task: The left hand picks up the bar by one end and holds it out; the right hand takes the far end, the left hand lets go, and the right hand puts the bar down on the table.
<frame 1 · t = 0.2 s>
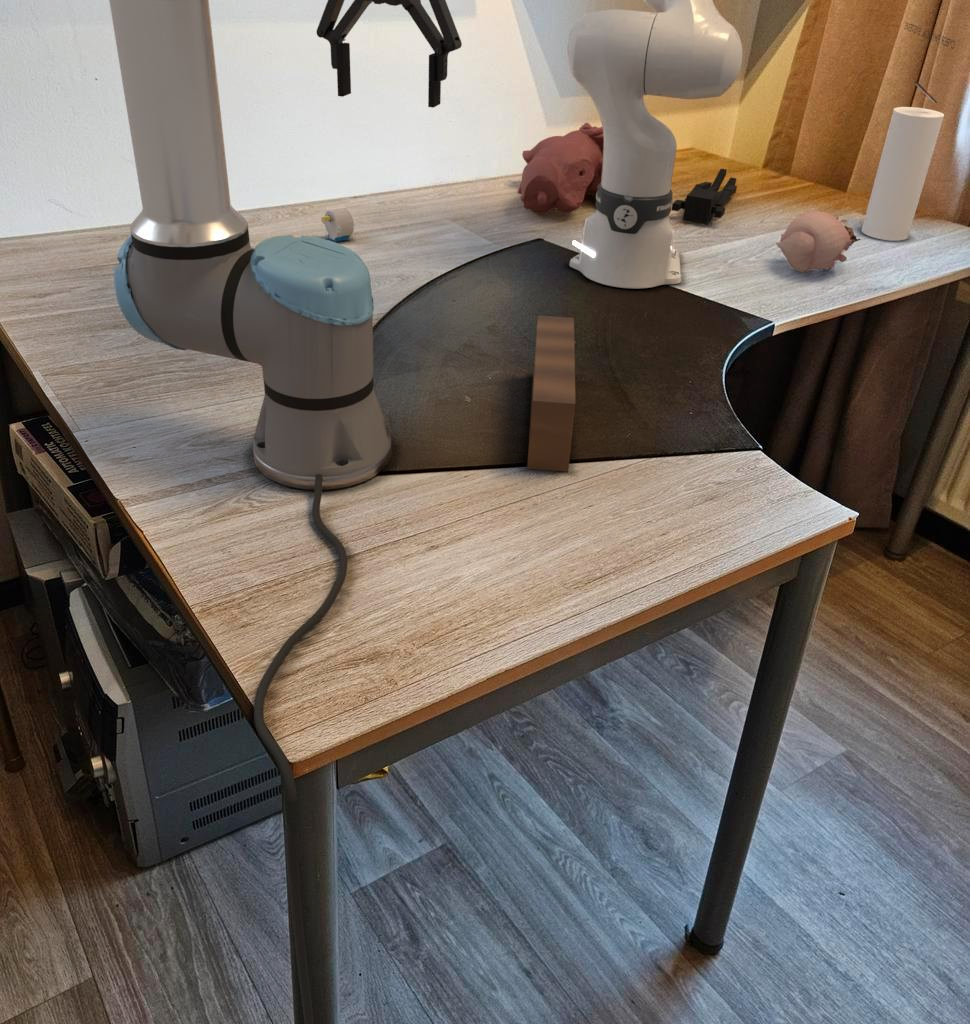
left hand: (388, 100, 134), 28 cm above the table, tool pointing down, fingers open, 13 cm apart
electric motor: (335, 240, 168), on the table
toy 2: (807, 268, 167), on the table
bar: (549, 420, 117), on the table
toy: (710, 205, 196), on the table
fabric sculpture: (573, 204, 192), on the table
tall white tube: (880, 233, 185), on the table
ceramic shard: (227, 317, 138), on the table
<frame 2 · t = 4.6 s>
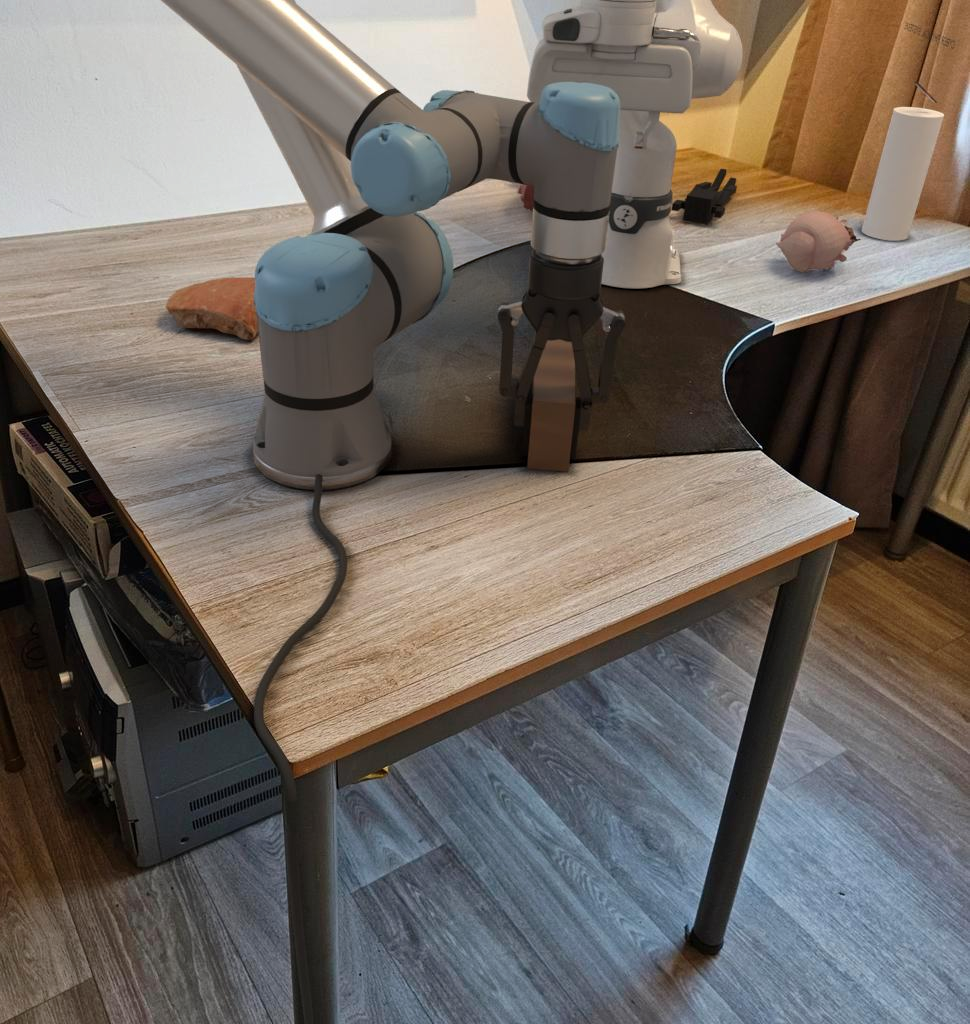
left hand: (548, 450, 110), 1 cm above the table, tool pointing down, fingers closed on bar, 5 cm apart
right hand: (602, 145, 122), 27 cm above the table, tool pointing down, fingers open, 8 cm apart
bar: (549, 420, 117), on the table, touching left hand
everything else where it was.
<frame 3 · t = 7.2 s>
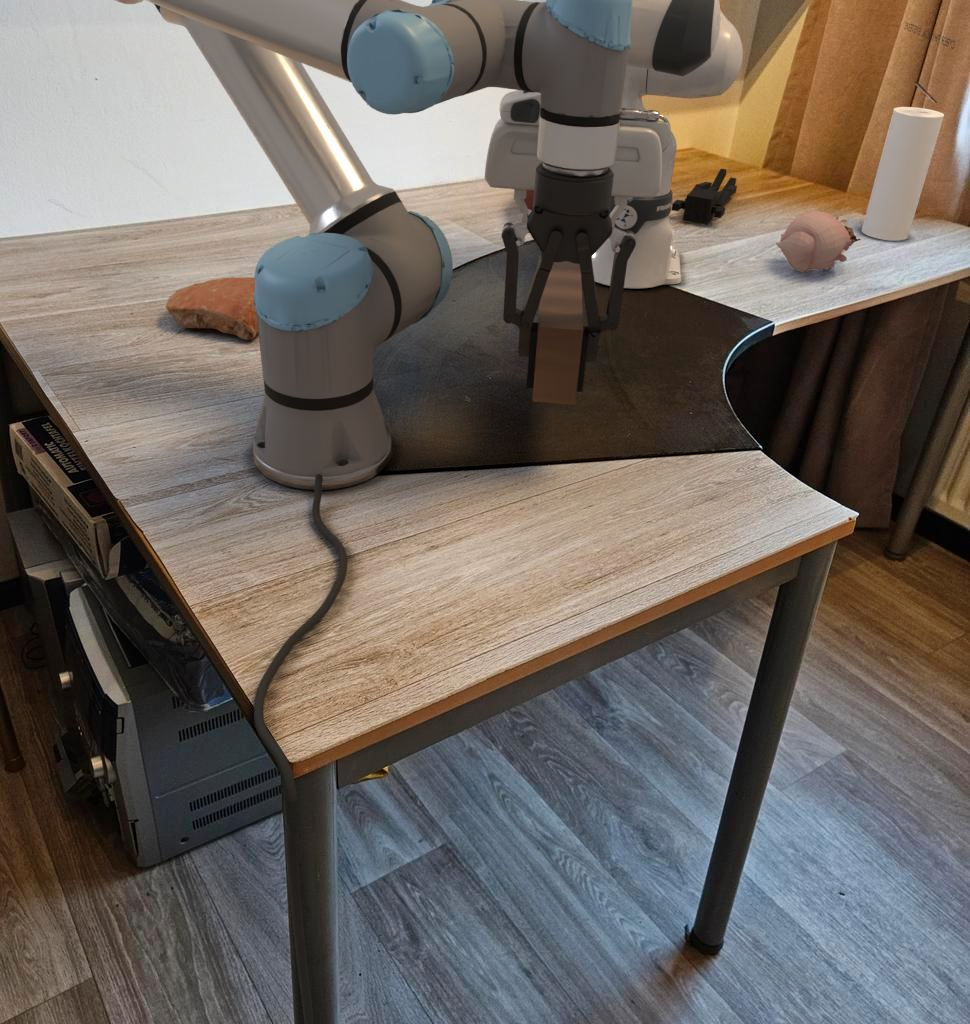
left hand: (554, 384, 105), 9 cm above the table, tool pointing down, fingers closed on bar, 5 cm apart
right hand: (567, 229, 114), 20 cm above the table, tool pointing down, fingers open, 8 cm apart
bar: (554, 356, 112), point 8 cm above the table, touching left hand
everything else where it was.
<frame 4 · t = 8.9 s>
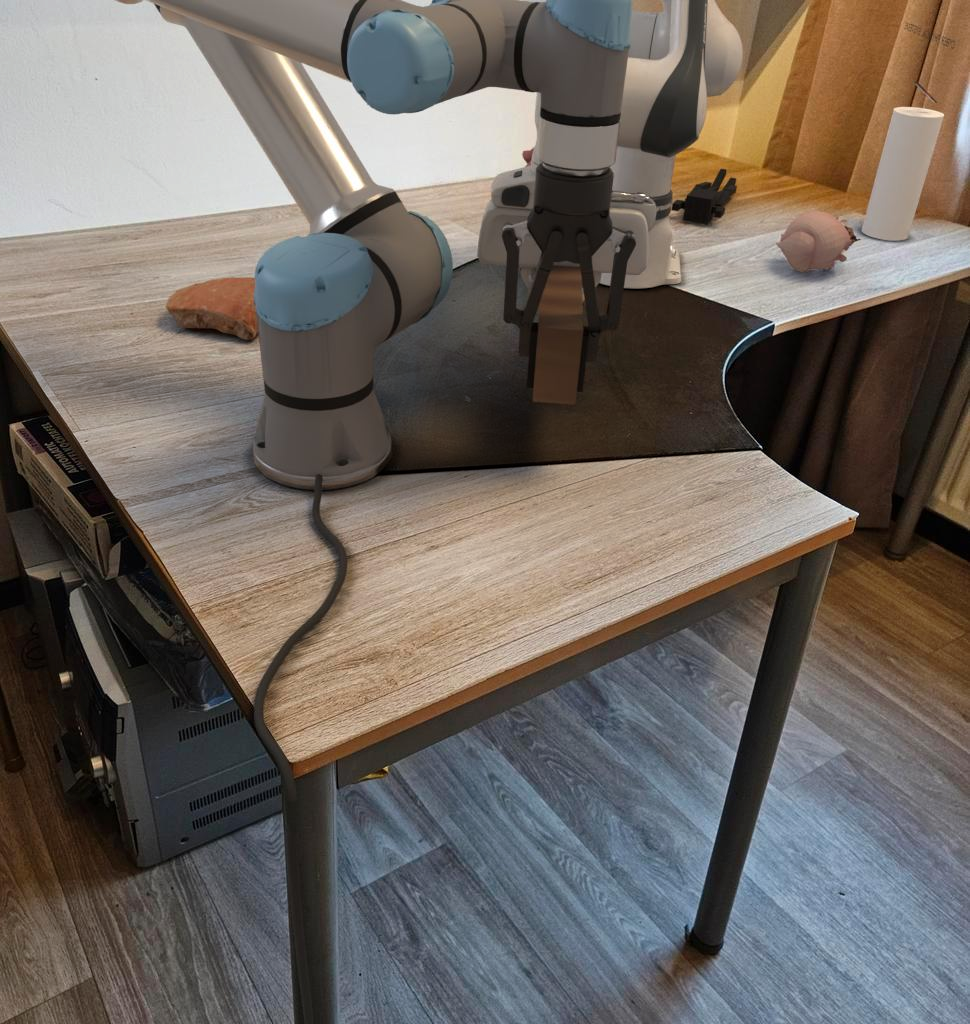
left hand: (554, 384, 105), 9 cm above the table, tool pointing down, fingers closed on bar, 5 cm apart
right hand: (557, 302, 118), 12 cm above the table, tool pointing down, fingers closed on bar, 4 cm apart
bar: (554, 356, 112), point 8 cm above the table, touching left hand, right hand
everything else where it was.
when the left hand's fingers open (9 cm above the table, at t = 9.6 s): bar stays where it is, held by the right hand.
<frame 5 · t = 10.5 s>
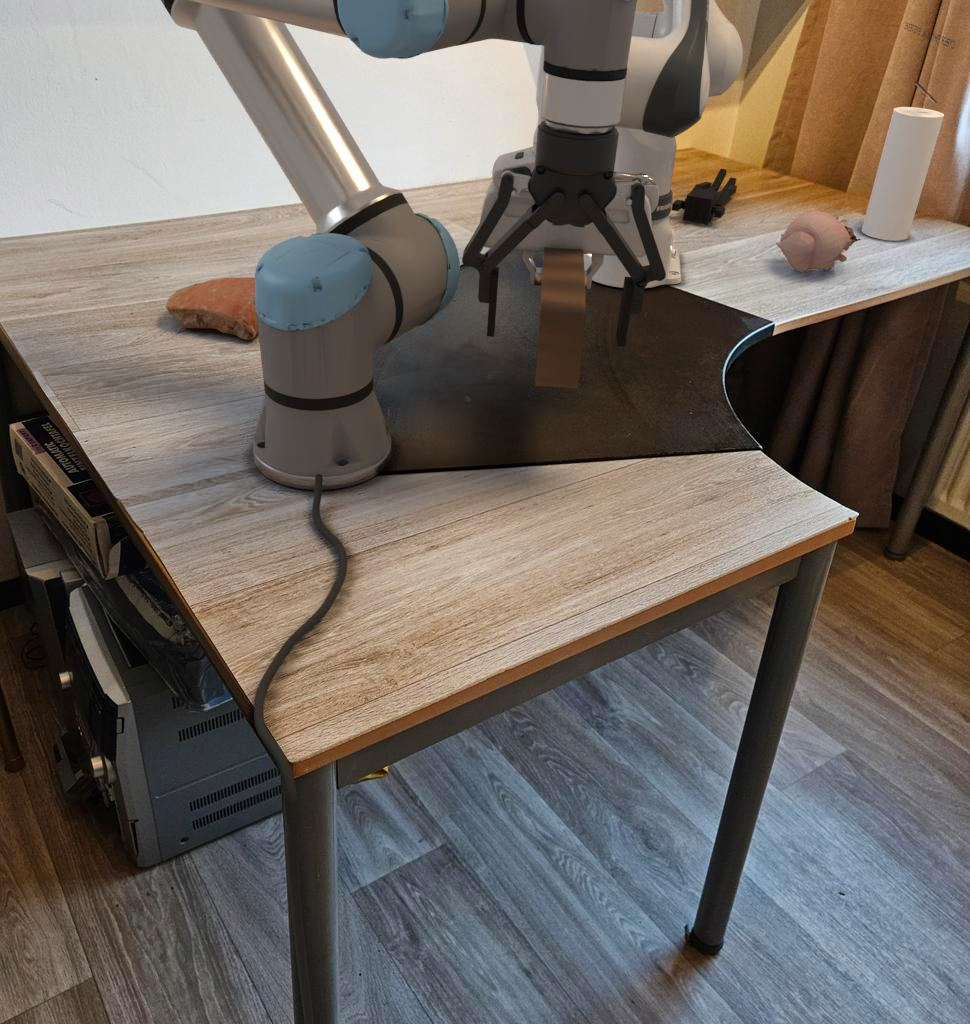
left hand: (555, 336, 101), 15 cm above the table, tool pointing down, fingers open, 13 cm apart
right hand: (559, 285, 117), 14 cm above the table, tool pointing down, fingers closed on bar, 4 cm apart
bar: (557, 340, 112), point 10 cm above the table, touching right hand
everything else where it was.
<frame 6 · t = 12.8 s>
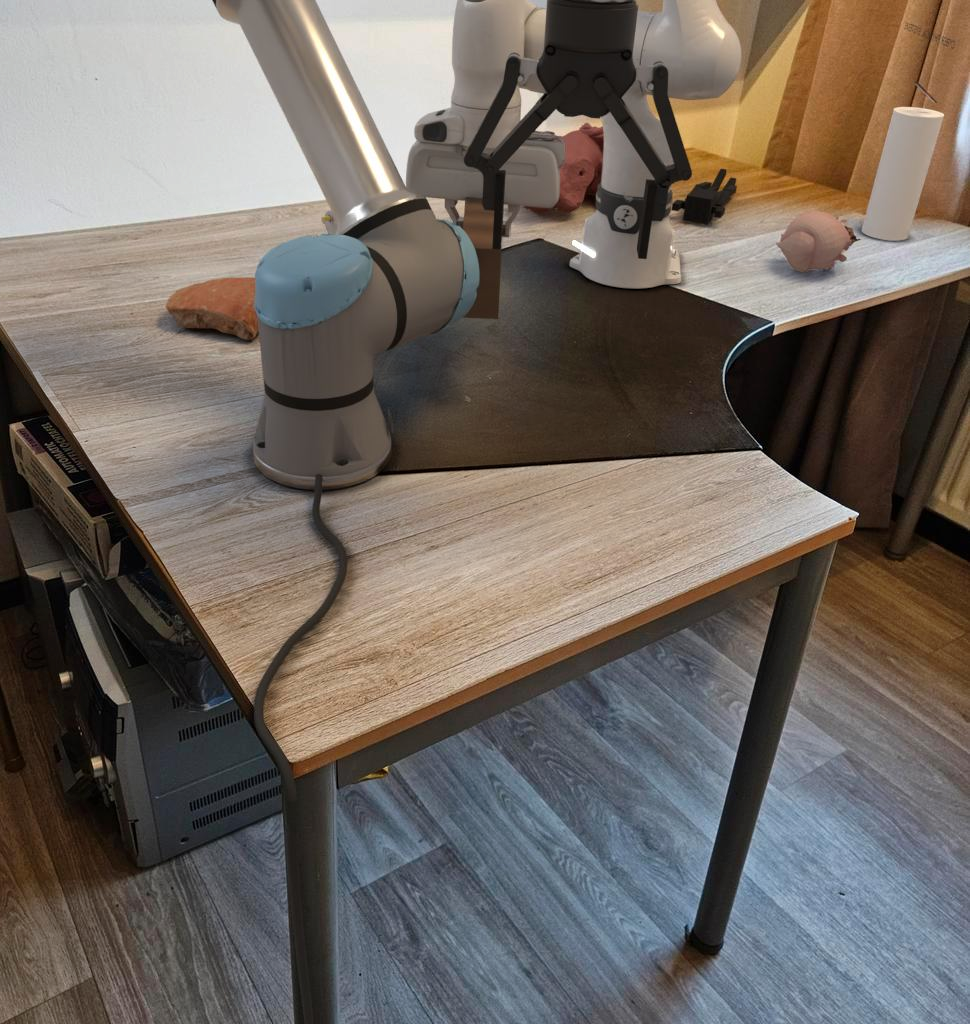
left hand: (569, 249, 91), 26 cm above the table, tool pointing down, fingers open, 13 cm apart
right hand: (481, 233, 130), 14 cm above the table, tool pointing down, fingers closed on bar, 5 cm apart
bar: (480, 281, 124), point 11 cm above the table, touching right hand
everything else where it was.
when the right hand's fingers open (4 cm above the table, at t = 17.0 s): bar stays where it is, on the table.
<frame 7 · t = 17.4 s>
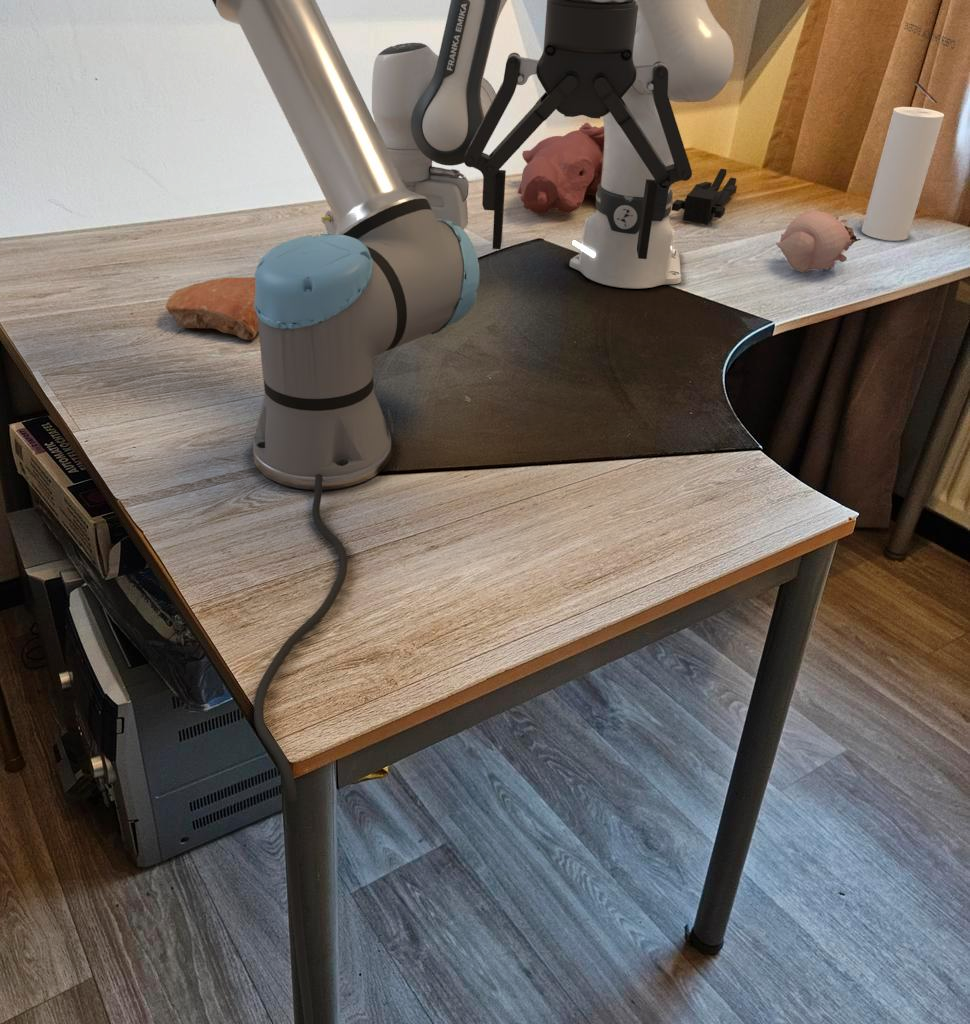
left hand: (569, 249, 91), 26 cm above the table, tool pointing down, fingers open, 13 cm apart
right hand: (403, 253, 151), 4 cm above the table, tool pointing down, fingers open, 8 cm apart
bar: (389, 300, 146), on the table
everything else where it was.
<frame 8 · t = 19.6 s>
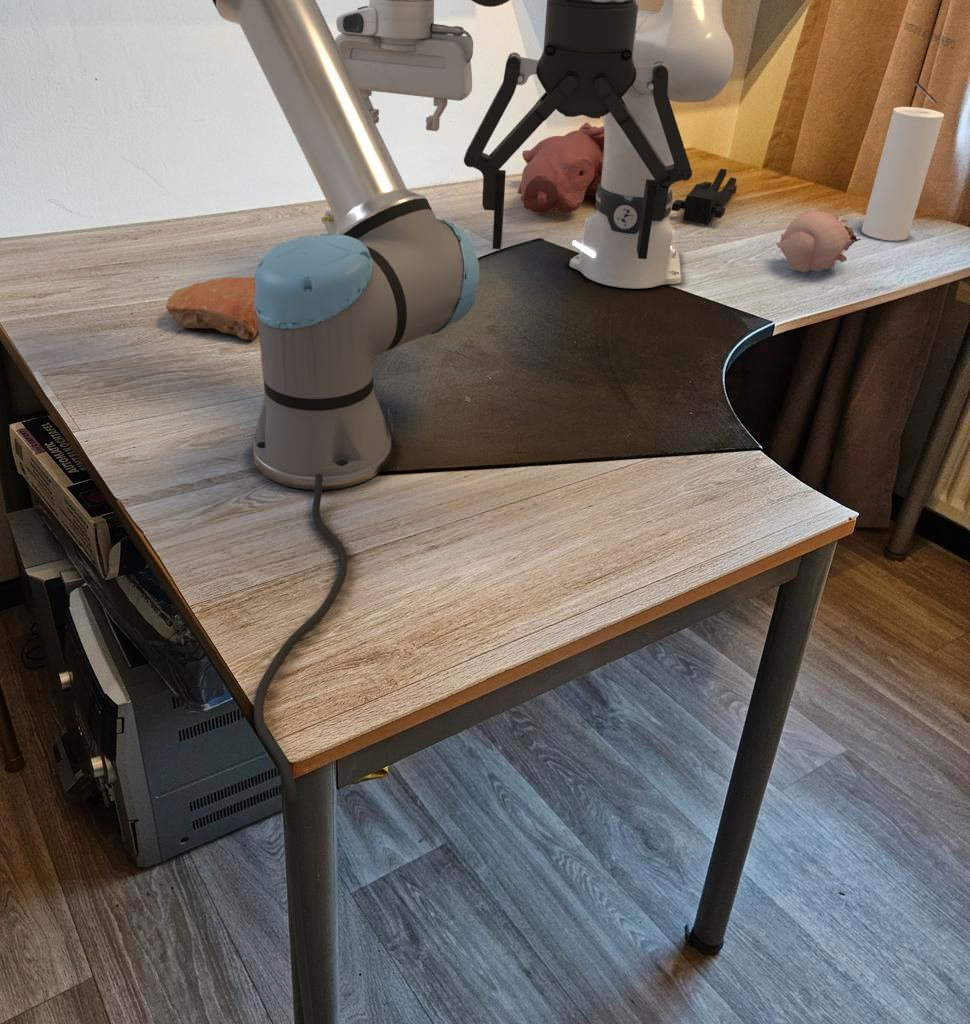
left hand: (569, 249, 91), 26 cm above the table, tool pointing down, fingers open, 13 cm apart
right hand: (402, 126, 140), 23 cm above the table, tool pointing down, fingers open, 8 cm apart
nothing on the table moved.
at the end: bar inside the target area (8.7 cm from its centre), on the table; the left hand is holding nothing; the right hand is holding nothing; bar at rest at the end (0.0 cm/s) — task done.
